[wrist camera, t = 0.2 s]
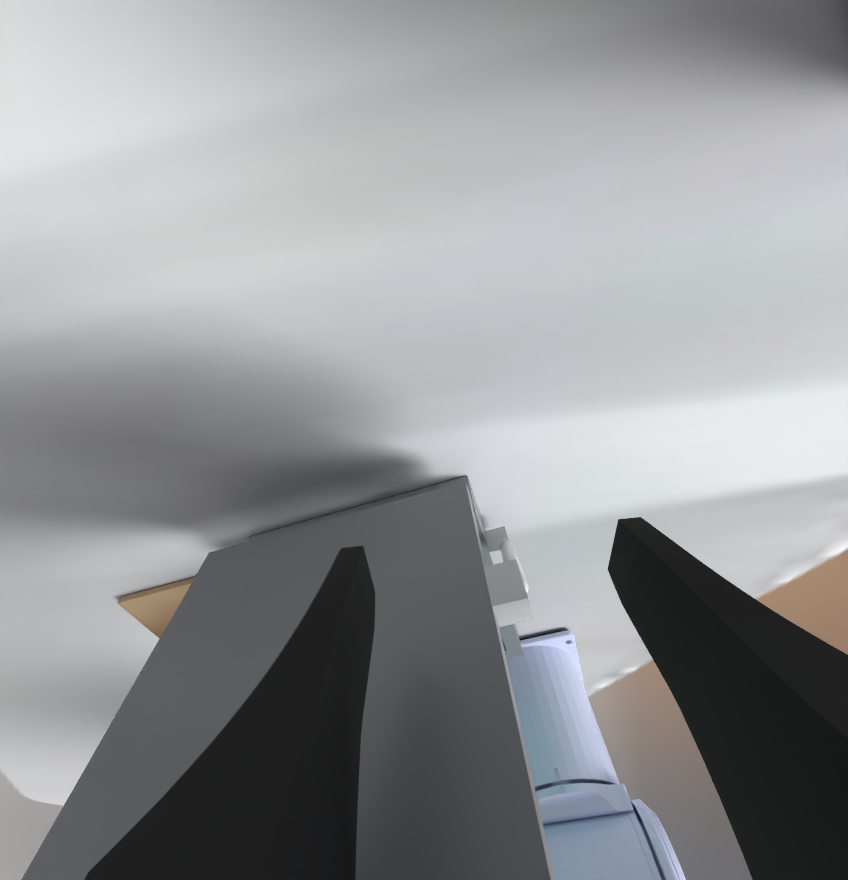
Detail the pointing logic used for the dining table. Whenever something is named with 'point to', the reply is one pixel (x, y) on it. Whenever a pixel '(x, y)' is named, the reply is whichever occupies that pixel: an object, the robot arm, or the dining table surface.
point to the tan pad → (156, 604)
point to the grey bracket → (386, 703)
